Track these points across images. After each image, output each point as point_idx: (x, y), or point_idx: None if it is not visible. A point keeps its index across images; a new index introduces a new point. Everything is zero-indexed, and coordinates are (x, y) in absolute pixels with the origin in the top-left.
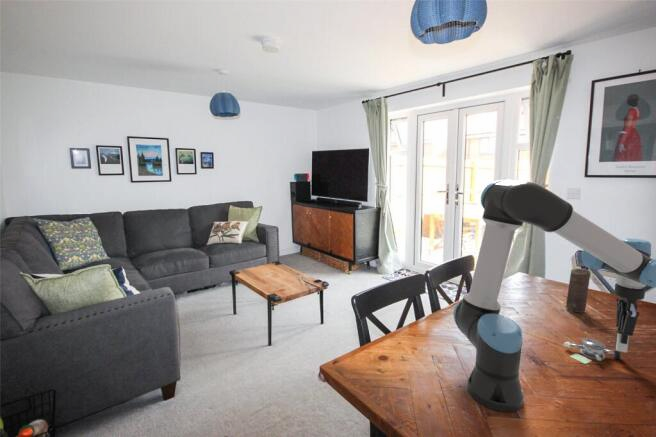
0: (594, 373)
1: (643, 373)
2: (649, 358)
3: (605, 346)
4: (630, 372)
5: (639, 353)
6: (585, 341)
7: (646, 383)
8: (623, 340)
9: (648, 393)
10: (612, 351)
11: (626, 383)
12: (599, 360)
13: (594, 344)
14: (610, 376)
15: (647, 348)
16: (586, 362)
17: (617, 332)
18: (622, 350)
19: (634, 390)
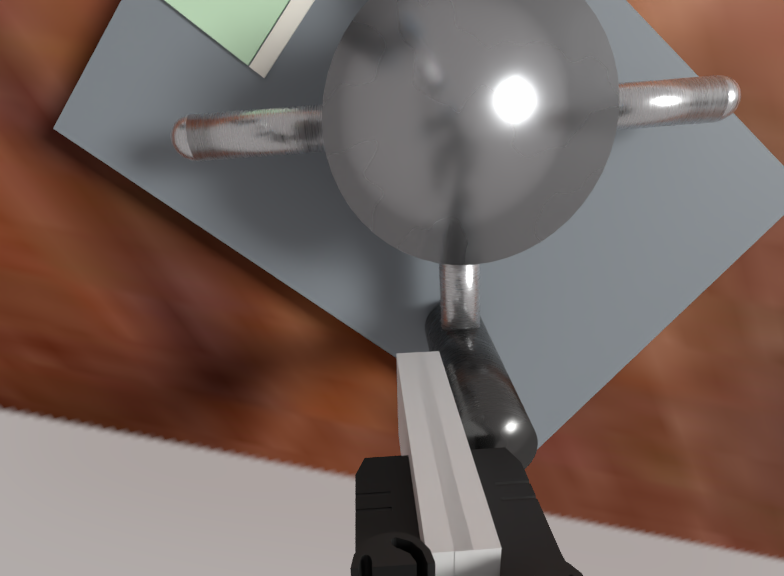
0: (80, 68)
1: (336, 441)
2: (601, 520)
3: (436, 256)
4: (300, 366)
5: (662, 484)
6: (490, 10)
7: (183, 426)
8: (357, 514)
9: (31, 406)
10: (452, 310)
11: (81, 301)
12: (172, 134)
13: (438, 128)
14: (121, 204)
15: (761, 542)
16: (178, 1)
17: (406, 540)
18: (398, 408)
19: (3, 331)
